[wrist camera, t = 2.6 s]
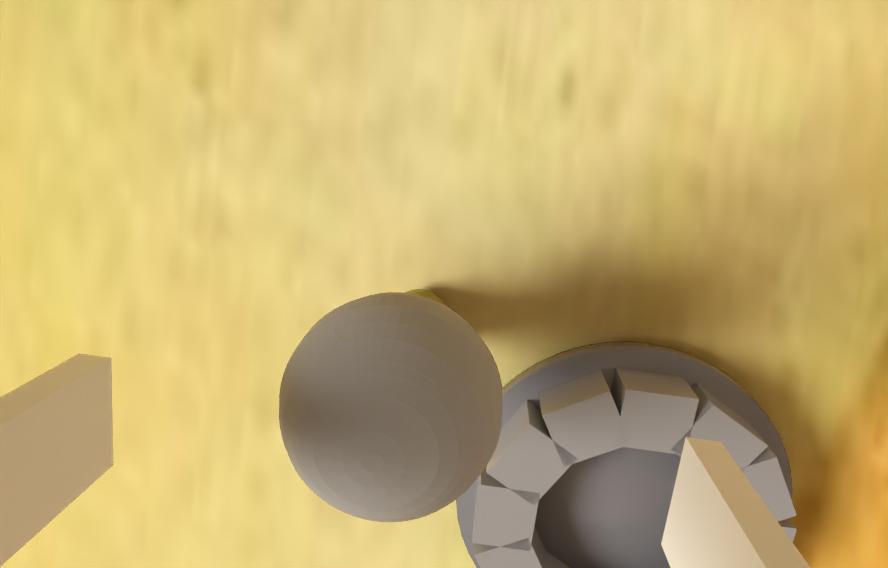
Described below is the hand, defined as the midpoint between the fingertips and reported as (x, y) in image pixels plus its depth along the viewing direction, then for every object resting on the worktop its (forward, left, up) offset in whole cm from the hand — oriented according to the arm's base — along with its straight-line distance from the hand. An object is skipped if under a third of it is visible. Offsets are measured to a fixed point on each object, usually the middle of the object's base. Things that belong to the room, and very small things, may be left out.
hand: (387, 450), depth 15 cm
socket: (+6, +8, -9) cm, 13 cm away
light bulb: (0, 0, -9) cm, 9 cm away
